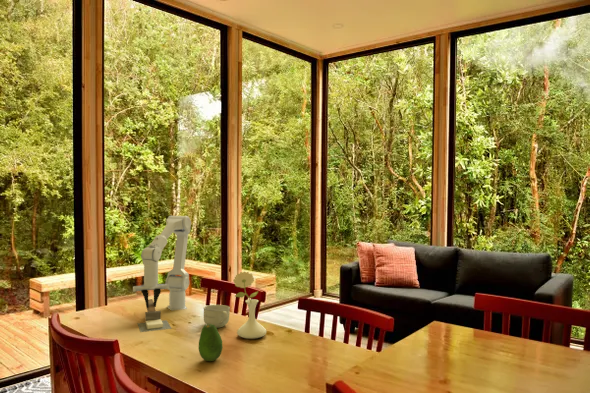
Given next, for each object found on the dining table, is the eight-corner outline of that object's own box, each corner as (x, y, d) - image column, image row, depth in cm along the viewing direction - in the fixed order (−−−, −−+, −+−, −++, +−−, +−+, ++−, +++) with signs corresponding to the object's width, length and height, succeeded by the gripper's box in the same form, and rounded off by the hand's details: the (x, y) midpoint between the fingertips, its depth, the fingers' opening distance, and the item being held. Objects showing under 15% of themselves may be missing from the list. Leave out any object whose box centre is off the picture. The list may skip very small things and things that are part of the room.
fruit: (196, 358, 153) (196, 322, 153) (220, 355, 156) (220, 320, 156) (200, 366, 146) (200, 329, 146) (224, 363, 149) (225, 326, 149)
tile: (145, 320, 189) (147, 325, 183) (160, 319, 192) (163, 323, 186) (145, 324, 190) (147, 329, 183) (160, 323, 192) (163, 327, 186)
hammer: (142, 307, 202) (142, 300, 201) (156, 306, 204) (156, 298, 203) (145, 321, 190) (145, 313, 189) (160, 319, 192) (160, 312, 192)
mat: (137, 324, 192) (137, 323, 192) (166, 321, 197) (166, 320, 197) (140, 333, 180) (140, 332, 180) (171, 329, 185) (171, 328, 185)
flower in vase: (268, 332, 182) (268, 269, 181) (263, 341, 170) (264, 274, 170) (236, 331, 183) (236, 268, 183) (229, 340, 172) (229, 273, 171)
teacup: (200, 324, 193) (200, 305, 193) (225, 321, 198) (225, 302, 197) (209, 333, 180) (209, 313, 180) (235, 330, 185) (235, 310, 185)
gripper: (134, 278, 191) (134, 310, 191) (169, 275, 197) (169, 307, 197) (132, 275, 197) (132, 306, 197) (167, 273, 203) (167, 303, 203)
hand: (150, 306), depth 197 cm, fingers closed on hammer, 2 cm apart
